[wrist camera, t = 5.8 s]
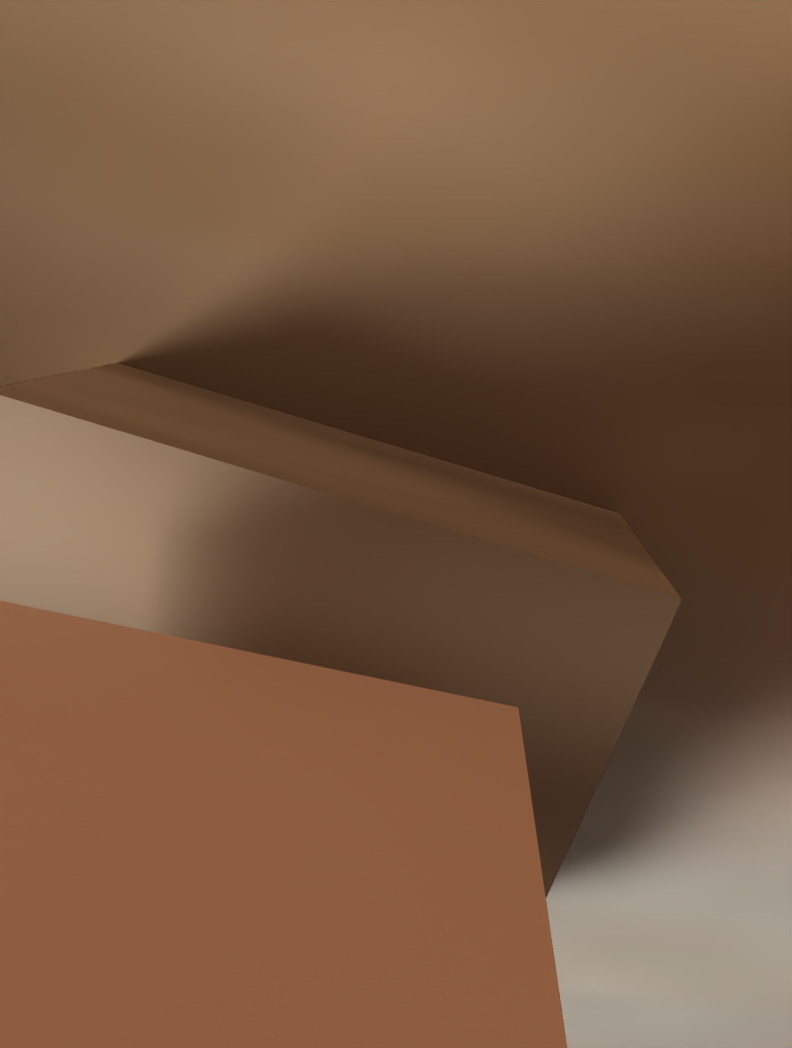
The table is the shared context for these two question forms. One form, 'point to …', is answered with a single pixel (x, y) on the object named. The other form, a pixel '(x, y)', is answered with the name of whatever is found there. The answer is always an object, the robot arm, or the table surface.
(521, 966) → the cube
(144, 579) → the block
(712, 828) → the table surface
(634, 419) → the table surface
